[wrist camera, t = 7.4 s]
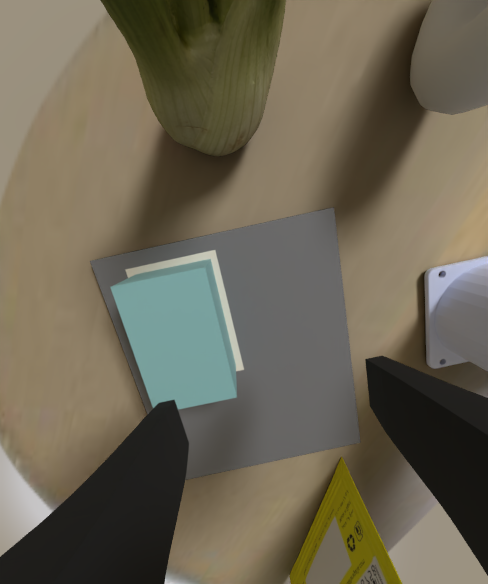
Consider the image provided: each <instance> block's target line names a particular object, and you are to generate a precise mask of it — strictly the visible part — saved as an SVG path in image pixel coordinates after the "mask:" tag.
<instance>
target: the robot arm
mask: <svg viewBox="0 0 488 584" xmlns="http://www.w3.org/2000/svg"><path fill="white" fill-rule="evenodd" d="M440 271H441V275H440V276H439V273H440ZM424 277H425V318H426V359H427V365H428V366H429V367H431V368H433V369H436V368H441V367H446V366H450V365H455V364H460V363H464V362H471V363H473V364H475V365H477V366H478V367H480V368H482V369H484V370H485V371H487V372H488V256H485V257H480V258H476V259H471V260H466V261H462V262H457V263H453V264H448V265H443V266H439V267H434V268H430V269H428V270H427V271H426V273H425V276H424ZM441 359H442V360H441ZM440 360H441V361H440ZM366 370H367V380H368V390H369V400H370V407H371V408H372V410H373V412H374V413H375V415H376V417H377V419H378V420H379V422H380V424H381V425H382V427H383V429H384V430H385V432H386V433H387V435H388V436H389V437H390V439H391V440H392V441H393V443H394V444H395V445H396V447H397V448H398V449H399V451H400V452H401V453H402V455H403V456H404V457H405V459H406V460H407V461H408V462H409V464H410V465H411V466H412V468H413V469H414V470H415V472H416V473H417V474H418V476H419V477H420V478H421V479H422V481H423V482H424V483H425V485H426V486H427V487H428V489H429V490H430V491H431V493H432V494H433V495H434V496H435V498H436V499H437V500H438V502H439V503H440V504H441V506H442V507H443V509H444V510H445V511H446V513H447V514H448V516H449V517H450V518H451V520H452V521H453V523H454V524H455V526H456V527H457V529H458V530H459V532H460V533H461V535H462V537H463V538H464V540H465V541H466V543H467V544H468V546H469V547H470V549H471V550H472V552H473V553H474V555H475V556H476V558H477V559H478V561H479V563H480V564H481V566H482V567H483V569H484V570H485V572H486V574H487V575H488V398H486V397H483V396H481V395H478V394H475V393H473V392H470V391H467V390H465V389H462V388H459V387H457V386H454V385H452V384H449V383H447V382H444V381H442V380H439V379H437V378H435V377H432V376H430V375H427V374H425V373H423V372H420V371H418V370H416V369H413V368H411V367H409V366H406V365H404V364H401V363H399V362H397V361H394V360H392V359H389V358H387V357H384V356H379V357H374V358H369V359H366ZM188 452H189V441H188V438H187V435H186V432H185V429H184V426H183V423H182V420H181V417H180V414H179V411H178V408H177V405H176V402H175V400H170V401H165V402H160V403H158V404H157V405H156V406H155V407H154V408H153V409H152V410H151V411H150V412H149V414H148V415H147V416H146V417H145V418H144V419H143V420H142V421H141V422H140V424H139V425H138V426H137V427H136V428H135V429H134V430H133V431H132V433H131V434H130V435H129V436H128V437H127V438H126V439H125V440H124V441H123V442H122V444H121V445H120V446H119V447H118V448H117V449H116V450H115V451H114V452H113V453H112V454H111V455H110V456H109V457H108V459H107V460H106V461H105V462H104V463H103V464H102V465H101V466H100V467H99V468H98V469H97V470H96V471H95V472H94V473H93V474H92V475H91V476H90V477H89V478H88V479H87V480H86V481H85V482H84V483H83V484H82V485H81V486H80V487H79V488H78V489H77V490H76V491H75V492H74V493H73V494H72V495H71V496H70V497H69V498H68V499H66V500H65V501H64V502H63V503H62V504H61V505H60V506H59V507H58V508H57V509H56V510H54V511H53V512H52V513H51V514H50V515H49V516H48V517H47V518H46V519H45V520H43V521H42V522H41V523H40V524H39V525H38V526H37V527H35V528H34V529H33V530H32V531H30V532H29V533H28V534H27V535H26V536H25V537H23V538H22V539H21V540H20V541H19V542H18V543H16V544H15V545H14V546H13V547H11V548H10V549H9V550H8V551H7V552H5V553H4V554H3V555H2V556H1V557H0V584H164V582H165V575H166V570H167V564H168V559H169V553H170V549H171V544H172V539H173V535H174V530H175V525H176V521H177V516H178V511H179V507H180V502H181V497H182V492H183V488H184V483H185V478H186V472H187V463H188Z"/></svg>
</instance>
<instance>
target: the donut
mask: <svg viewBox="0 0 488 584" xmlns="http://www.w3.org/2000/svg"><path fill="white" fill-rule="evenodd" d="M410 85H411V87H412V89H413V91H414V93H415V96H416V98H417V100H418V102H419V104H420V105H421V106H422V107H424V108H425V109H427V110H430V111H435V112H440V113H445V114H451V115H453V114H458V113H463V112H466V111H470V110H473V109H476V108H479V107H482V106H486V105H488V0H432V1H431V4H430V6H429V8H428V11H427V13H426V15H425V18H424V20H423V22H422V25H421V28H420V31H419V35H418V38H417V41H416V44H415V48H414V51H413V54H412V59H411V71H410Z"/></svg>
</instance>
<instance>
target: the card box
mask: <svg viewBox="0 0 488 584" xmlns="http://www.w3.org/2000/svg"><path fill="white" fill-rule="evenodd" d="M110 288H111V291H112V293H113V296H114V299H115V302H116V305H117V308H118V310H119V313H120V316H121V319H122V322H123V325H124V327H125V330H126V333H127V336H128V339H129V342H130V344H131V347H132V350H133V353H134V356H135V359H136V362H137V364H138V367H139V370H140V373H141V376H142V379H143V381H144V384H145V387H146V390H147V393H148V396H149V398H150V401H151V404H152V407H153V408H154V407H155V406H156V405H157V404H158V403H160V402H165V401H170V400H175V402H176V405H177V408H178V409H183V408H188V407H193V406H198V405H203V404H207V403H212V402H217V401H222V400H227V399H232V398H237V384H236V363H235V359H234V355H233V351H232V347H231V342H230V338H229V334H228V330H227V325H226V321H225V317H224V313H223V309H222V304H221V300H220V296H219V292H218V287H217V283H216V279H215V275H214V271H213V266H212V262H211V259H207V260H202V261H197V262H192V263H188V264H183V265H178V266H173V267H168V268H164V269H159V270H154V271H149V272H144V273H140V274H136V275H134V276H132V277H130V278H128V279H126V280H124V281H122V282H120V283H118V284H116V285H113V286H111V287H110Z"/></svg>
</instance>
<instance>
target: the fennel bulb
mask: <svg viewBox="0 0 488 584" xmlns="http://www.w3.org/2000/svg"><path fill="white" fill-rule="evenodd" d="M101 2H102V3H103V5H104V6H105V8H106V10H107V12H108V13H109V15H110V17H111V18H112V19H113V21H114V22H115V24H116V25H117V27H118V29H119V30H120V31H121V33H122V34H123V36H124V37H125V39H126V41H127V43H128V45H129V47H130V49H131V51H132V53H133V55H134V57H135V59H136V62H137V65H138V68H139V72H140V75H141V78H142V82H143V85H144V89H145V92H146V96H147V99H148V101H149V103H150V105H151V108H152V110H153V112H154V114H155V115H156V117H157V119H158V121H159V122H160V124H161V125H162V126H163V128H164V129H165V130H166V131H167V133H168V134H169V135H170V136H171V137H172V139H173V140H175V141H176V142H178V143H180V144H182V145H184V146H187V147H191V148H194V149H196V150H198V151H200V152H202V153H205V154H207V155H212V156H223V155H227V154H231V153H233V152H235V151H237V150H238V149H239V148H241V147H242V146H244V145H245V144H246V143H247V142H248V141H249V140H250V139H251V137H252V136H253V134H254V133H255V131H256V130H257V128H258V126H259V124H260V121H261V119H262V116H263V113H264V109H265V104H266V100H267V96H268V92H269V88H270V83H271V80H272V75H273V71H274V66H275V61H276V57H277V52H278V47H279V43H280V37H281V31H282V26H283V19H284V14H285V4H286V0H101Z"/></svg>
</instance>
